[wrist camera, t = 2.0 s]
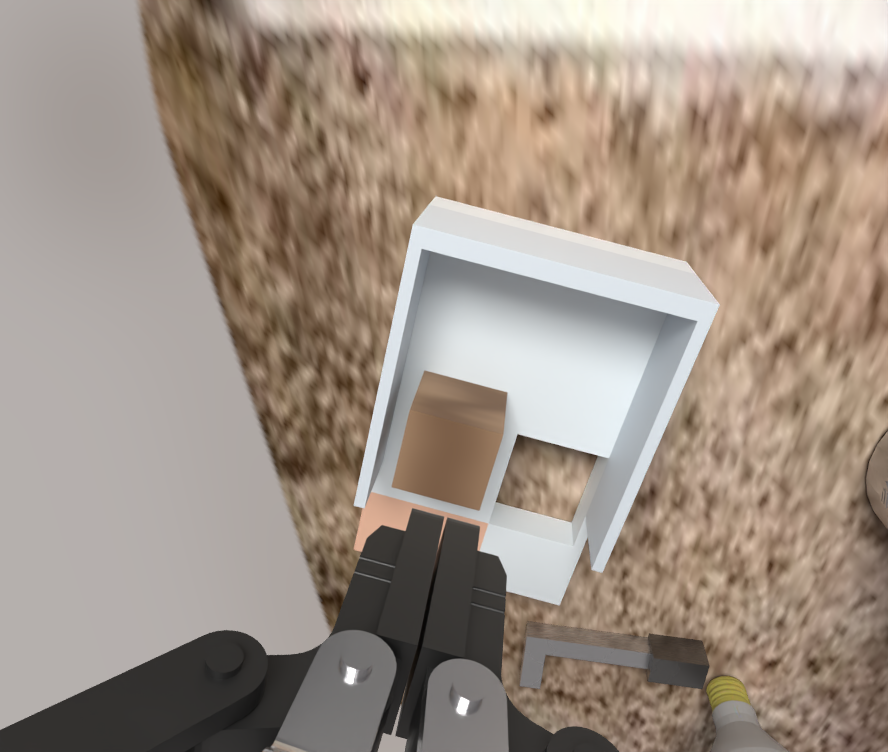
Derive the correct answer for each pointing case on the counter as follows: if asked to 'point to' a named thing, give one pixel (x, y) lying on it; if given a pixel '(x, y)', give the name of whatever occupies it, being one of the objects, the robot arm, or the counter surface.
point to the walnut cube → (451, 440)
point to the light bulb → (736, 719)
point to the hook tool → (615, 653)
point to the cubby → (536, 373)
